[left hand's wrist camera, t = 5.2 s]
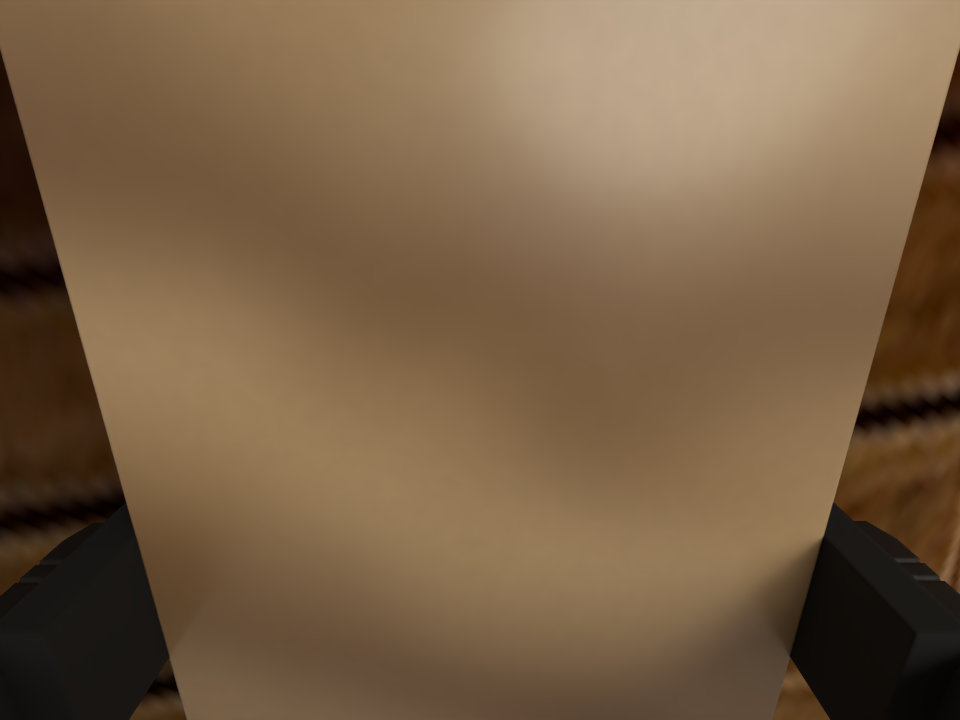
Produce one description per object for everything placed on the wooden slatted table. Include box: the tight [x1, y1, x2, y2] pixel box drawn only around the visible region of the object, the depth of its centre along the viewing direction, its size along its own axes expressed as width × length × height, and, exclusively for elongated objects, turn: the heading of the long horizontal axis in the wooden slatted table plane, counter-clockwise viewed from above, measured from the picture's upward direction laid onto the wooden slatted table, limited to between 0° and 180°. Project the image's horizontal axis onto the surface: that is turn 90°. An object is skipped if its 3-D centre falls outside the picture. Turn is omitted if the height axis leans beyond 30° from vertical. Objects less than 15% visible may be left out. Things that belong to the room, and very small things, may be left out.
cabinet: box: [0, 0, 960, 720], centre depth 11 cm, size 20×11×8 cm, turn 0°
